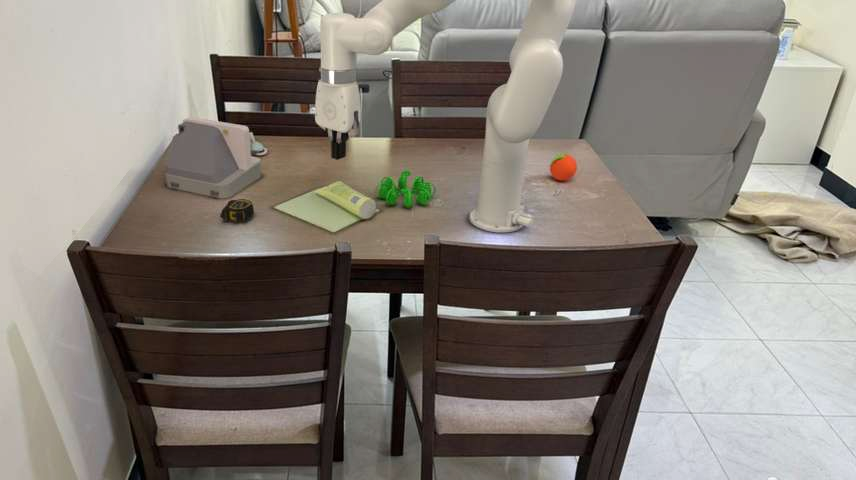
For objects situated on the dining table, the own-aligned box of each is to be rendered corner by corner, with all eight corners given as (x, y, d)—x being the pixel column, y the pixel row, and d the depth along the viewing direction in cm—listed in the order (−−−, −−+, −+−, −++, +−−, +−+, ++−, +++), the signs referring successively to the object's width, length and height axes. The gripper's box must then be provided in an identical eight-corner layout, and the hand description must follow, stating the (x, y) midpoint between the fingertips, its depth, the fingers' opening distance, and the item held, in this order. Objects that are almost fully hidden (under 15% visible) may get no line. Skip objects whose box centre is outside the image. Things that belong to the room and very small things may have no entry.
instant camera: (270, 178, 179) (267, 122, 172) (215, 203, 164) (209, 144, 157) (213, 161, 189) (207, 108, 182) (156, 184, 175) (147, 128, 167)
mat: (379, 210, 162) (379, 209, 162) (334, 232, 151) (334, 231, 151) (319, 189, 173) (319, 187, 173) (273, 208, 163) (273, 206, 163)
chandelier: (410, 216, 159) (412, 189, 156) (362, 199, 168) (363, 173, 164) (446, 197, 169) (448, 171, 166) (399, 182, 178) (400, 157, 174)
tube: (373, 223, 158) (330, 198, 172) (382, 203, 157) (339, 180, 172) (355, 216, 154) (313, 191, 169) (365, 195, 153) (322, 173, 168)
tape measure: (230, 211, 161) (229, 196, 159) (258, 213, 160) (256, 198, 158) (220, 223, 155) (219, 208, 153) (249, 225, 154) (247, 210, 152)
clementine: (555, 186, 176) (559, 160, 172) (539, 177, 182) (543, 152, 178) (580, 182, 179) (584, 157, 175) (563, 173, 184) (568, 148, 181)
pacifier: (268, 149, 199) (247, 148, 199) (267, 128, 196) (246, 128, 196) (266, 157, 193) (245, 157, 192) (266, 136, 190) (244, 136, 189)
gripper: (301, 72, 145) (303, 154, 155) (353, 85, 137) (352, 170, 146) (325, 66, 150) (326, 146, 159) (376, 78, 142) (374, 161, 151)
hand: (338, 157), depth 153 cm, fingers closed
